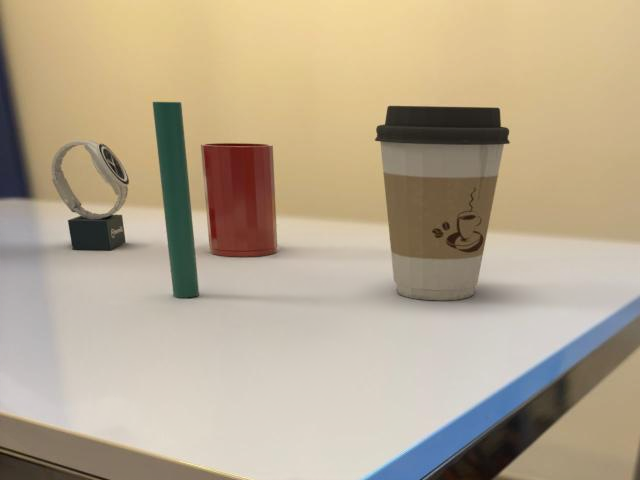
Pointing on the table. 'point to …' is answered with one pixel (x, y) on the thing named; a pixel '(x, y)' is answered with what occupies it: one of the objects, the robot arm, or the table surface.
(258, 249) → the can
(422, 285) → the coffee cup
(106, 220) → the watch
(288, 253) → the table surface
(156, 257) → the table surface
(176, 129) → the straw
